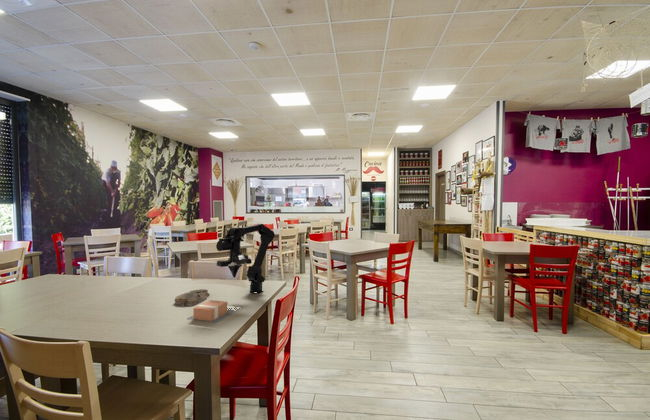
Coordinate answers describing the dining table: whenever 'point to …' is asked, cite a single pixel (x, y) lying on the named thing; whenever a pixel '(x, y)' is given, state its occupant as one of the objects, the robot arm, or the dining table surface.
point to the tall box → (210, 310)
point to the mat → (218, 317)
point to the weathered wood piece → (192, 297)
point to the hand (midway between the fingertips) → (234, 277)
